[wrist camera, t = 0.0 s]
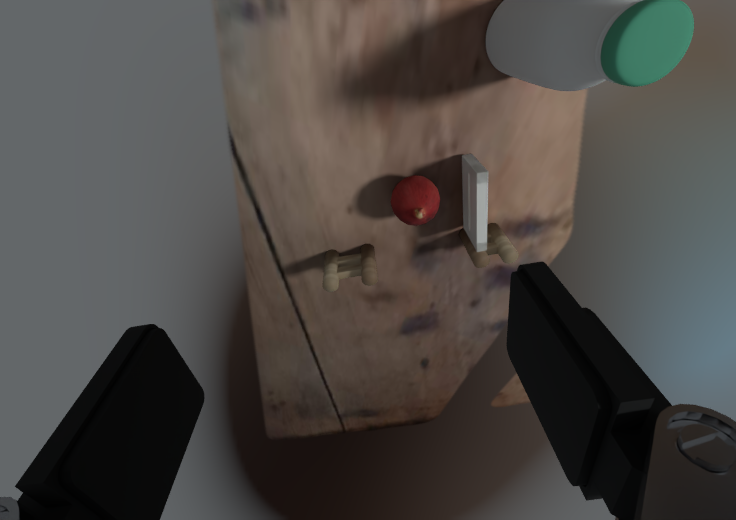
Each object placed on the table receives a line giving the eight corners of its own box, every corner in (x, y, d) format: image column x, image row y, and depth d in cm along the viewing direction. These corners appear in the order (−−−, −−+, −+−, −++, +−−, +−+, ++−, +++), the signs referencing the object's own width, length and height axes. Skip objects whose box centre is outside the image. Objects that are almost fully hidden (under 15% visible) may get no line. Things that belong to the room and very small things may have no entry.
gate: (472, 226, 50) (486, 250, 44) (463, 227, 50) (476, 251, 44) (471, 153, 44) (488, 171, 39) (461, 155, 44) (477, 173, 39)
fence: (324, 250, 52) (320, 280, 46) (499, 221, 50) (519, 248, 44) (327, 262, 53) (324, 292, 47) (498, 234, 51) (518, 262, 46)
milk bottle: (510, 90, 41) (621, 139, 24) (468, 35, 38) (563, 47, 21) (572, 32, 38) (745, 42, 22) (532, -33, 35) (700, -81, 18)
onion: (441, 191, 47) (457, 220, 41) (405, 217, 49) (414, 248, 43) (416, 157, 45) (428, 181, 38) (379, 185, 47) (384, 213, 40)
